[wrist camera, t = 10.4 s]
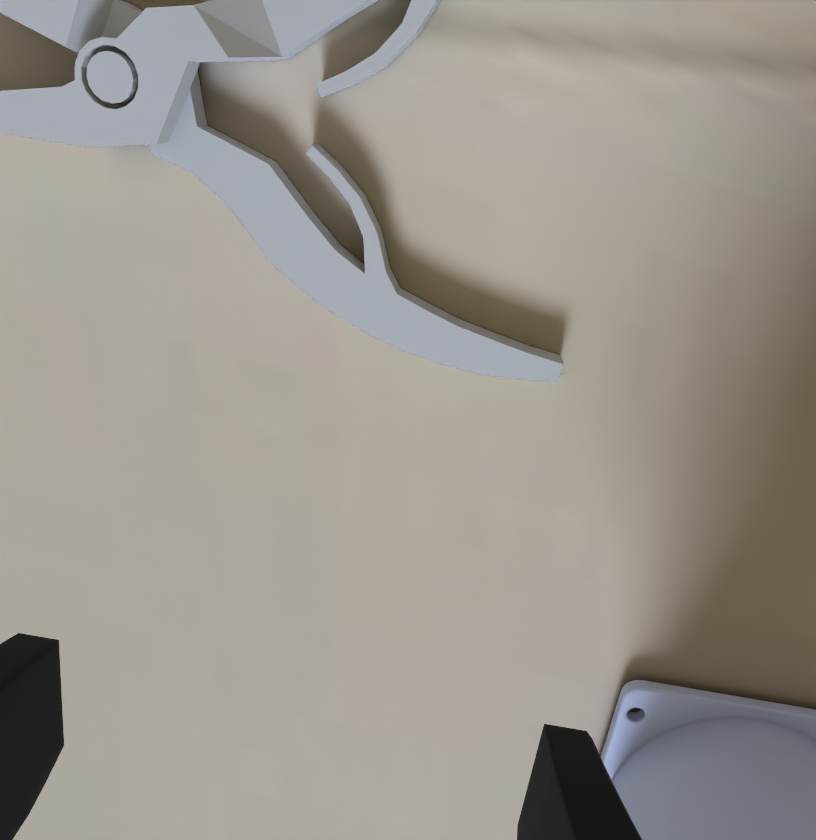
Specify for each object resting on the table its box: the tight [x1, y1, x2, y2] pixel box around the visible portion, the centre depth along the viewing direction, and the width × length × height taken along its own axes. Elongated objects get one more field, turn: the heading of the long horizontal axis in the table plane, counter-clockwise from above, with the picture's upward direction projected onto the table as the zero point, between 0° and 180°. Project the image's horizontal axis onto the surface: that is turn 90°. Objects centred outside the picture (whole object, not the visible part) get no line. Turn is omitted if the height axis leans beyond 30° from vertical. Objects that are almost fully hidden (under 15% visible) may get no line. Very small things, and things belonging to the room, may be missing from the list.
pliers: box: [0, 0, 564, 382], centre depth 17 cm, size 10×2×15 cm
